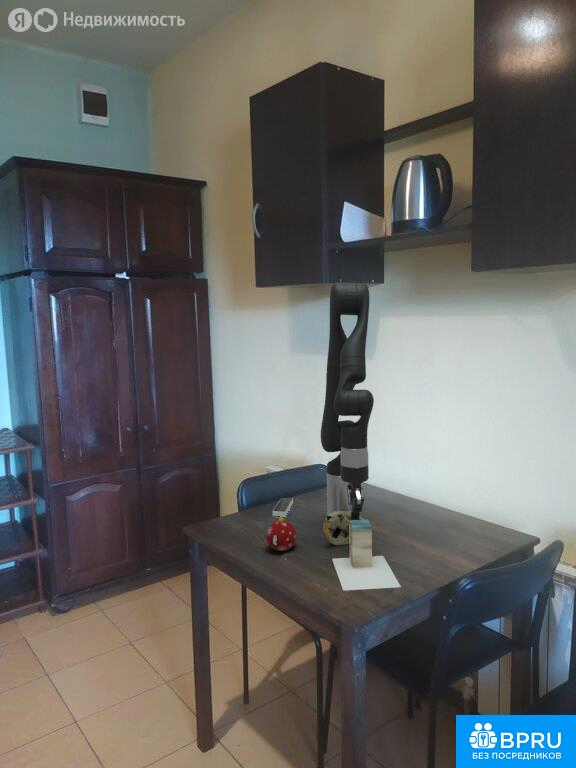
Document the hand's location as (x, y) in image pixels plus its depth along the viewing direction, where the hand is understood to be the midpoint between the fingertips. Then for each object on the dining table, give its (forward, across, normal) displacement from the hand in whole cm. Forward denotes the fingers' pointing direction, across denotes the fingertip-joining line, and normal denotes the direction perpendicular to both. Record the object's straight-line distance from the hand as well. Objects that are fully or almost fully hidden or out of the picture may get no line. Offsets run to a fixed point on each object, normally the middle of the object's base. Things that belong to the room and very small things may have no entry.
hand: (355, 524), depth 157 cm
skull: (+9, -9, -2) cm, 13 cm away
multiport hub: (+9, -39, -17) cm, 44 cm away
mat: (+9, +12, 0) cm, 15 cm away
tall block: (+8, +7, 0) cm, 11 cm away
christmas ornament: (+9, -6, -20) cm, 23 cm away
